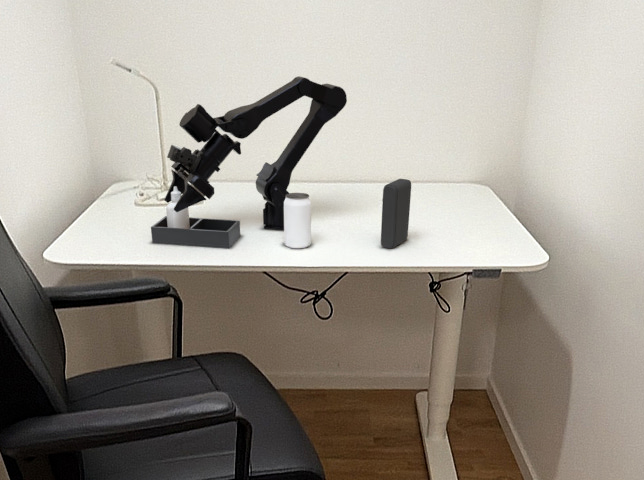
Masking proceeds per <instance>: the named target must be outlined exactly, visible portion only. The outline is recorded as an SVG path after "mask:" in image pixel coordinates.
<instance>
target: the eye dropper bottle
mask: <svg viewBox="0 0 644 480" xmlns="http://www.w3.org/2000/svg"><path fill="white" fill-rule="evenodd" d="M181 196H182V194H181V192H180V191H178V189H177V186H174V190H173V192H171V201H170V202H169V203H167V204H166V208H165V210H166V211H165V212H166V216H167V225H168V228H183V229H189V228H190V223H189V217H190V213H189V212H190V211H189V207H187V208H185V209H183V210H181V211H179V212H176V211H175V210H174V207H175V206H176V204H177V202H178V201H179V199H180V197H181Z"/></svg>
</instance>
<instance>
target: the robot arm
mask: <svg viewBox="0 0 644 480" xmlns="http://www.w3.org/2000/svg"><path fill="white" fill-rule="evenodd" d="M303 97H307V98H310V99H311V102H310V105H309V106H310V107H309V111H308V114H307V115H306V117H305V119H304V120H303V121H302V123H301V124H300V125H299V127H298V129H297V130H296V132H295V133H294V134H293V135H292V137H291V139H290V140H289V142H288V143H287V145H286V146H285V148H284V149H283V151H282V152H281V154H280V155H279V157H278V158H277V160H275V161H274V162H273V163H271V164H270V163H269V162H264V163H263V166H262V168H261V170H260V171H259V172H258V173H257V174H256V176H257V177H256V180H255V188H256V191H257V192H258V193H259V194H260V195H261V196H262V198H263V200H264V201H265V203H264V208H263V209H262V219H263V220H262V221H263V222H262V224H263V225H264V226H263V229H264V230H276V231H277V230H278V231H284V200H285V198H286V194H289V193H290V192H289V191H288V188H289V186H290V183H291V179H292V178H291V177H292V173H293V171H294V170H295V168H296V166H298V163H300V161H301V159H302V158H303V156H304V155H305V154H306V151H307V150H308V149H309V148H310V146H311V145H312V143H313V142H314V140H315V139H316V137H317V136H318V134H319V133H320V132H321V130H322V129H323V127H324V126H325V125H326V123H328V122H329V121H331V120H332V119H334V118H336V117H337V115H338V114H339V113H340V112H342V110H343V109H344V108H345V107H346V105H347V102H348V99H347V98H348V97H347V92H346V91H345V89H344V88H342V87H341V86H338V85H334V84H331V83H322V84H320V83H317V82H315V81H312V80H310V79H309V78H307V77H304V76H300V75H299V76H295V77H294V78H293V79H292V80H291V81H289V82H287V83H286V84H283V85H282V86H280V87H279V88H277V89H275V90H274V91H272V92H270V93H268V94H267V95H265V96H264V97H261V98H260V99H259V100H256V101H255V102H253V103H250V104H247V105H242V106H239V107H235V108H233V109H230V110H228V111H227V112H225V114H223V115H220V116H216V117H213V116H212V115H211V114H210V113H209V112H208V111H207V109H205V107H204V106H202V104H199V103H197V104H196V105H195V107H192V108H191V109H190V110H189V111H187V112H185V113H184V115H183V116H182V118H181V119H180V121H179V124H178V125H179V127H180V128H181V129H183V130H184V132H185V133H187V134H188V136H190V137H191V138H192V139H193V140H194V141H195V142H196V143H199V144H200V143H202V142H203V143H204V145H203V146H202V147H201V148H200V149H194V151H193V152H192V150H191V149H190V148H187V147H186V146H183V147H179V146H176V145H175V144H171V145H170V147H169V150H168V154H167V159H169V160H170V161H171V162H173V164H171V168H172V169H171V170H170V171H171V174H172V181H171V183H170V186H169V188H168V191H167V193H166V195H165V197H164V201H165V202H166V203H167V204H169V203H171V202H172V201H171V192H173V190H174V186H177V189H178V191H180V192H181V197H180V199H179V201H178V202H177V204H176V206H175V207H174V210H175V211H176V212H179V211H181V210H183V209H185V208H187V207H188V208H189V207H192V206H194V205H196V204H198V203H201V202H203V201H207V199H208V200H211V198H212V197H213V196H214V195H215V187H214V186H213V185H211V184H210V181H209V180H210V178H211V177H212V176H213V174H214V173H215V172H217V173H219V172H220V171H221V168H220V167H221V165H222V163H223V162H224V161H225V160H226V159H227V157H228V156H229V155H230V154H231V153H232V152H234V153H235V154H238V155H242V148H241V145H242V144H241V142H240V141H238V140H235V141H234V139H232V138H231V137H230V136H232V137H234V138H237V139H241V140H242V139H246V138H248V137H249V136H250V135H252V134H253V133H254V132H255V131H256V130H257V129H258V128H259V127H260V125H261V124H262V123H263V122H264V121H265V120H266V119H268V118H269V117H271V116H273V115H274V114H276V113H278V112H279V111H281V110H283V109H284V108H286V107H288V106H290V105H291V104H293V103H294V102H296V101H298V100H299V99H301V98H303ZM217 129H218V130H220V131H222V132H224V133H223V134H221V132H219V131H218V130H217ZM228 134H229V135H228Z"/></svg>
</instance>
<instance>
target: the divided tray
mask: <svg viewBox="0 0 644 480" xmlns="http://www.w3.org/2000/svg"><path fill="white" fill-rule="evenodd" d="M189 223H190V228H189V229H183V228H168V225H167V215H165V216H163V217H162V218H161V219H159V220H158V221H157V222H156V223H154V224H153V225H152V226H150V233H151V243H152V244H159V245H173V246H188V247H191V246H192V247H204V248H217V249H219V248H220V249H230V248H231V247H232V246H233V245H234V244H235V243H236V242H237V241H238V239H239V238H240V237H241V220H239V219H238V220H237V219H222V218H207V217H206V218H204V217H192V216H191V217H190V216H189Z"/></svg>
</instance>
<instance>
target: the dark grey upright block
mask: <svg viewBox="0 0 644 480" xmlns="http://www.w3.org/2000/svg"><path fill="white" fill-rule="evenodd" d="M411 197H412V182H411V180H410V179H406V178H398V179H395V180H394V181H391V182H389V183H387V184H384V186H383V189H382V207H381V228H380V229H381V230H380V245H381V247H382V248H387V249H394V248H395V247H397V246H399V245H400V244H403V242H405V241H407V239H408V236H409V234H408V233H409V223H410V212H411V211H410V210H411Z"/></svg>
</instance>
